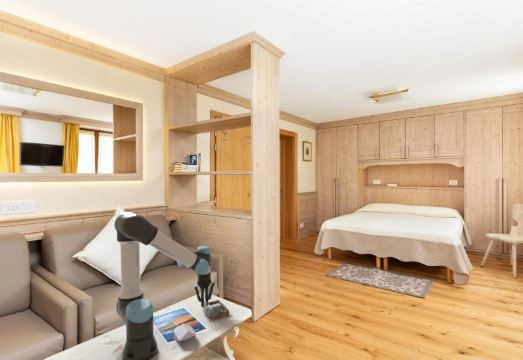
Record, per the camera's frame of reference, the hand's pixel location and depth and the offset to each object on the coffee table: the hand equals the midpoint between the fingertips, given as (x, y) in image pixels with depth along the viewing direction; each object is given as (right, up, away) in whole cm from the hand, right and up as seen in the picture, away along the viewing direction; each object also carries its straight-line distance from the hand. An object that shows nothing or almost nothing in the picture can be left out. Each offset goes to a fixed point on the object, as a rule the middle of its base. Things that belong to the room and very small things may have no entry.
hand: (204, 311), depth 170 cm
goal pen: (+6, -2, +4) cm, 7 cm away
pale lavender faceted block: (-6, -3, -24) cm, 25 cm away
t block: (+5, -2, +3) cm, 5 cm away
